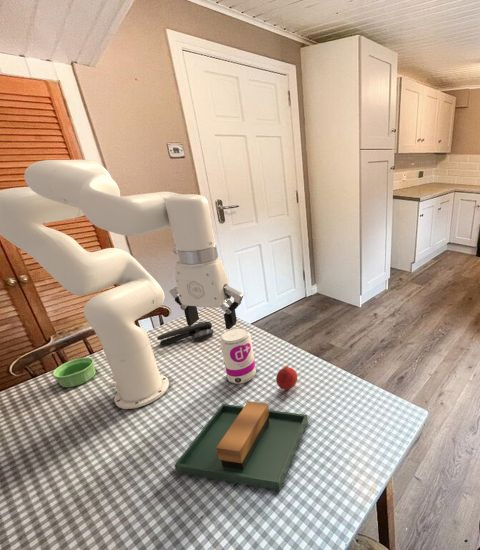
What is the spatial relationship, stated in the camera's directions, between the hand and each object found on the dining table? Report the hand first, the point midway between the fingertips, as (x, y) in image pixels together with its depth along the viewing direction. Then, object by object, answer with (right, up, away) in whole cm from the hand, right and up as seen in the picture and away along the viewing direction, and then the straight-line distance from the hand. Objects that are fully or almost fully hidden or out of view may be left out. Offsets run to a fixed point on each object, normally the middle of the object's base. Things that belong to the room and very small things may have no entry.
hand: (212, 324), depth 71 cm
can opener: (-30, -12, +40) cm, 52 cm away
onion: (+13, -22, +17) cm, 31 cm away
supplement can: (-2, -20, +22) cm, 30 cm away
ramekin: (-51, -20, +21) cm, 58 cm away
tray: (+8, -28, 0) cm, 29 cm away
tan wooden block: (+8, -28, 0) cm, 29 cm away
